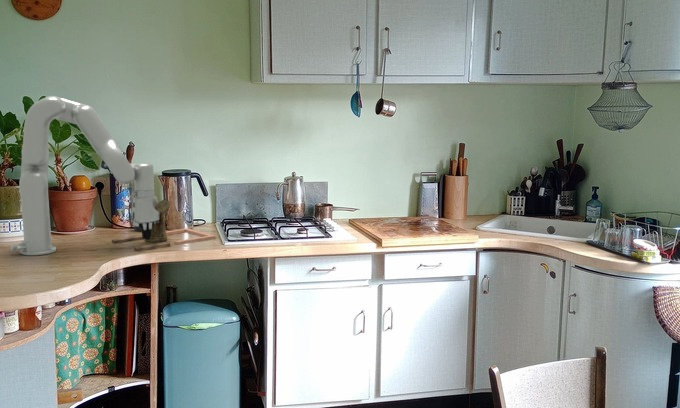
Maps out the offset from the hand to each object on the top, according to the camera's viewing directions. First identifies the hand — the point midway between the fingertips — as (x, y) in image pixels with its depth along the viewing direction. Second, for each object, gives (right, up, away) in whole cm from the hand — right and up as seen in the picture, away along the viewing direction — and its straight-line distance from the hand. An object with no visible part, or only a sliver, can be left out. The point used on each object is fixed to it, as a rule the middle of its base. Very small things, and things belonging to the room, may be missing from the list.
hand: (146, 238), depth 276 cm
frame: (+11, 0, +11) cm, 16 cm away
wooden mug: (+4, -1, +4) cm, 6 cm away
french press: (-9, +2, +28) cm, 29 cm away
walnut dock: (-2, -2, -1) cm, 3 cm away
